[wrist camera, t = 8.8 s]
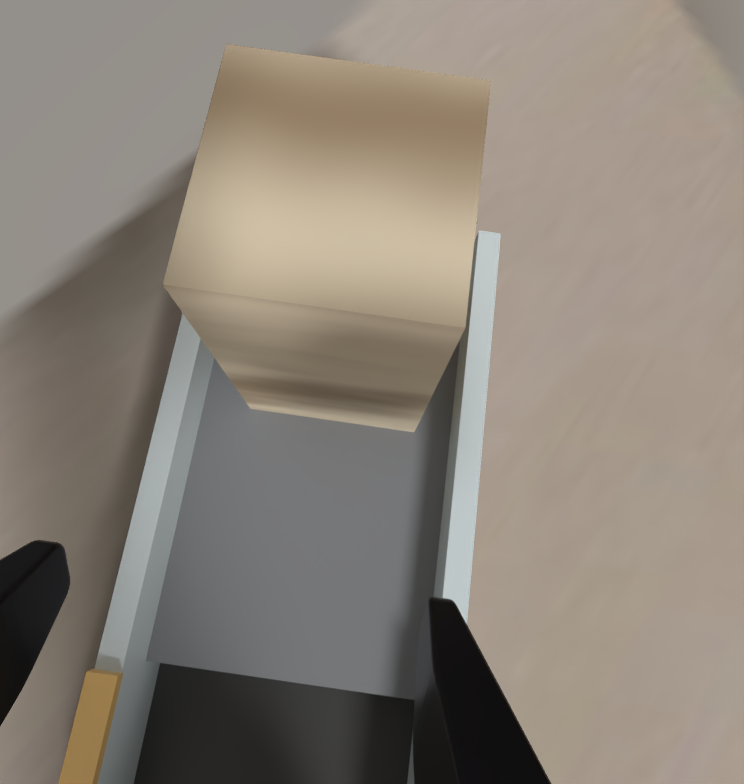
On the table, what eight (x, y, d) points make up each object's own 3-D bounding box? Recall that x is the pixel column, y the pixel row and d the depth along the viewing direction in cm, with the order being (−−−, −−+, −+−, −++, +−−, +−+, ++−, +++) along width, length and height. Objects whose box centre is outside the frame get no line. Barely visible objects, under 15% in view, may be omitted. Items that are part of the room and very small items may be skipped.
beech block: (413, 432, 21) (465, 327, 11) (250, 408, 21) (162, 284, 11) (432, 283, 23) (491, 80, 13) (280, 261, 23) (226, 44, 13)
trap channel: (413, 967, 18) (431, 1092, 14) (79, 917, 18) (-3, 1026, 14) (479, 283, 25) (505, 227, 21) (233, 249, 25) (208, 186, 21)
